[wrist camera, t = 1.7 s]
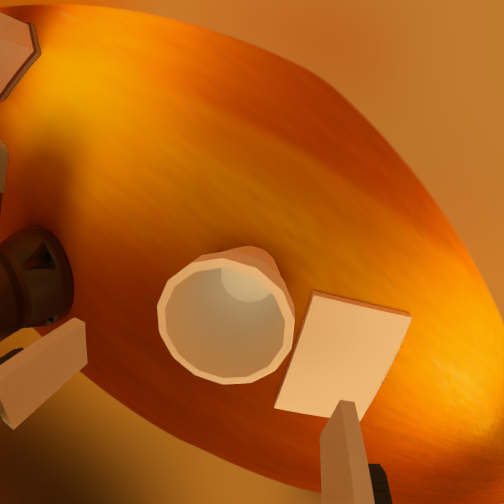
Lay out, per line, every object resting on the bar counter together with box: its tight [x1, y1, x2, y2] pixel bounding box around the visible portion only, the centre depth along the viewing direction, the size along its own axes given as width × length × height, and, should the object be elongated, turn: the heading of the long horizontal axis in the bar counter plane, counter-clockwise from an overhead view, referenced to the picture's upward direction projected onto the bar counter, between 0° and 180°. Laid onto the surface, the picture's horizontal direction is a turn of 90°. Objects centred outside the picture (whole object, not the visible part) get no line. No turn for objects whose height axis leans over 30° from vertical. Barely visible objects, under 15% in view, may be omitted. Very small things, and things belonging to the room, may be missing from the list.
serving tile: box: [274, 291, 412, 421], centre depth 31 cm, size 12×16×2 cm
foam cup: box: [157, 245, 295, 384], centre depth 25 cm, size 10×9×13 cm
